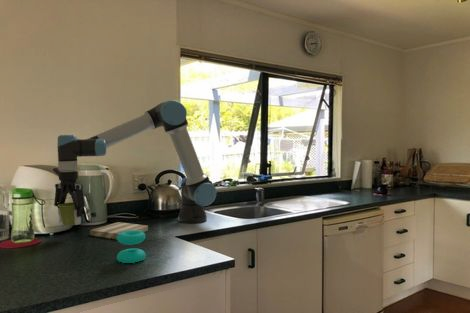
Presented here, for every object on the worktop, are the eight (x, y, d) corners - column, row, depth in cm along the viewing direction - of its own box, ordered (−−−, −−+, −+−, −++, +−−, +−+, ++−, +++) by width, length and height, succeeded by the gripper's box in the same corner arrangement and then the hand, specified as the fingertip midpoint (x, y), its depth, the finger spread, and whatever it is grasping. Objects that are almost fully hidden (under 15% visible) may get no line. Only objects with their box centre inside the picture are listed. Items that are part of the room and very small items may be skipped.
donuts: (129, 237, 129) (110, 233, 135) (130, 266, 130) (110, 261, 135) (151, 231, 137) (132, 228, 143) (151, 259, 138) (132, 254, 143)
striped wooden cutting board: (147, 232, 180) (147, 225, 180) (121, 241, 164) (121, 234, 164) (118, 228, 188) (118, 222, 188) (90, 236, 171) (90, 230, 171)
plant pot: (66, 227, 158) (65, 206, 157) (54, 224, 164) (53, 204, 163) (86, 223, 165) (85, 203, 165) (74, 220, 171) (73, 201, 170)
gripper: (93, 170, 162) (95, 223, 163) (58, 169, 171) (59, 219, 172) (79, 172, 155) (81, 227, 156) (43, 171, 164) (45, 223, 165)
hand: (70, 223), depth 164 cm, fingers closed on plant pot, 8 cm apart
